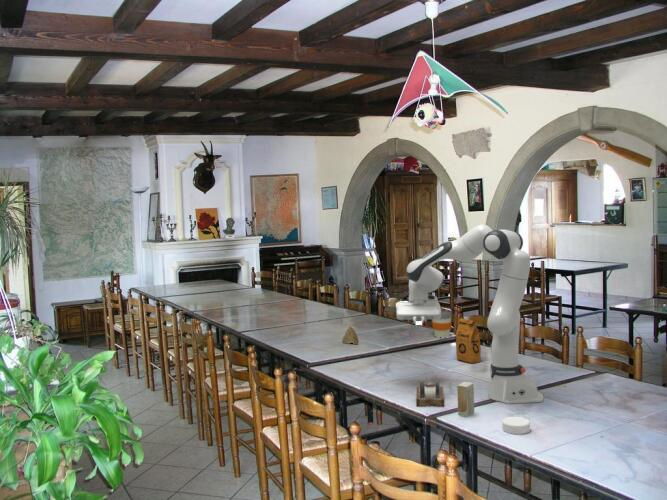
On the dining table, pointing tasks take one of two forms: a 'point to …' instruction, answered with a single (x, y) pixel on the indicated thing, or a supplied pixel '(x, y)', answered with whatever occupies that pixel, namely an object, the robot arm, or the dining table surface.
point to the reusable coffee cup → (442, 324)
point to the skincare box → (465, 398)
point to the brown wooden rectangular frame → (430, 400)
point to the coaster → (516, 425)
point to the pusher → (422, 389)
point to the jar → (430, 390)
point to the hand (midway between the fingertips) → (418, 326)
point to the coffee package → (468, 342)
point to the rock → (350, 336)
